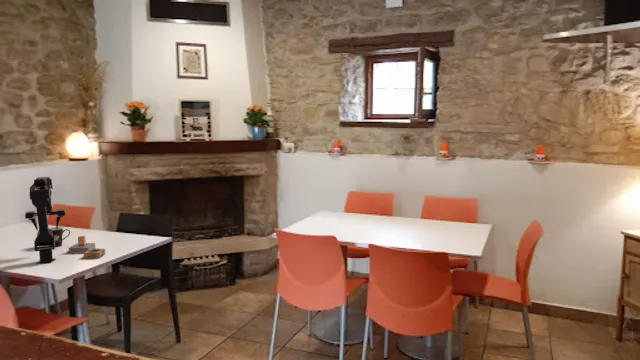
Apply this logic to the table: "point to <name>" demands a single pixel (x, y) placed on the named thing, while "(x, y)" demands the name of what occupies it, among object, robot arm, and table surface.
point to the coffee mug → (58, 235)
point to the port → (81, 248)
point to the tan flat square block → (94, 253)
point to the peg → (81, 241)
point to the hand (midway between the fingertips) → (47, 229)
